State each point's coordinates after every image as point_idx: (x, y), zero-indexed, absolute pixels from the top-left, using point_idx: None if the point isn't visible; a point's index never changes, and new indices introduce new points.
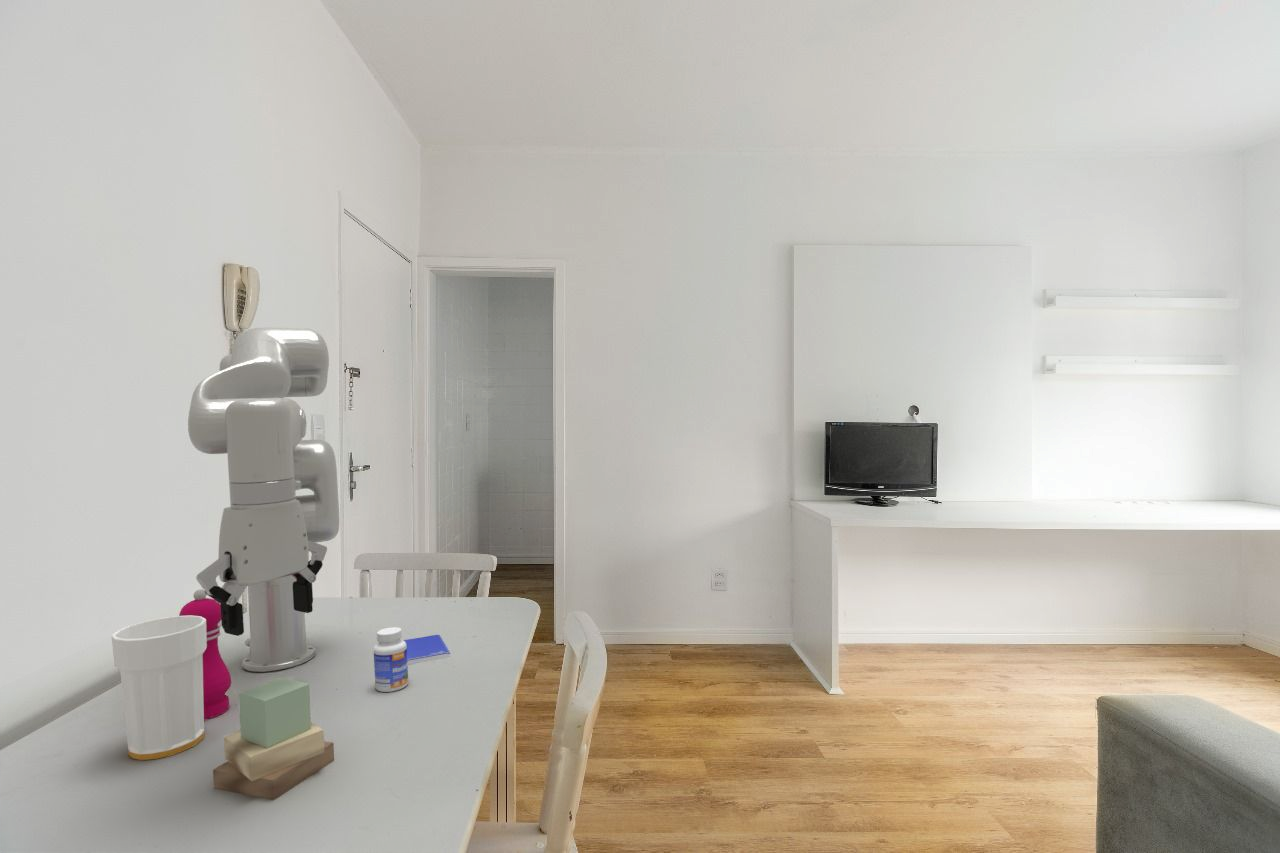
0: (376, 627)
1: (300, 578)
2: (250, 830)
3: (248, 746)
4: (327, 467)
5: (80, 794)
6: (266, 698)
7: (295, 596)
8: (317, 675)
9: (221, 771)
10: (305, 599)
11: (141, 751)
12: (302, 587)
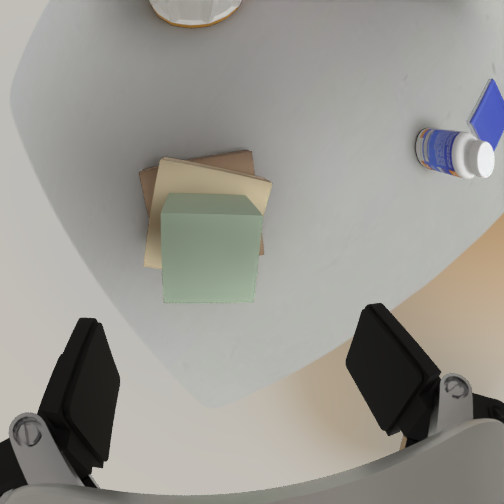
0: (498, 28)
1: (420, 422)
2: (124, 292)
3: (159, 231)
4: None
5: (73, 40)
6: (172, 295)
7: (386, 352)
8: (418, 26)
9: (142, 188)
10: (365, 389)
11: (151, 3)
12: (388, 415)
